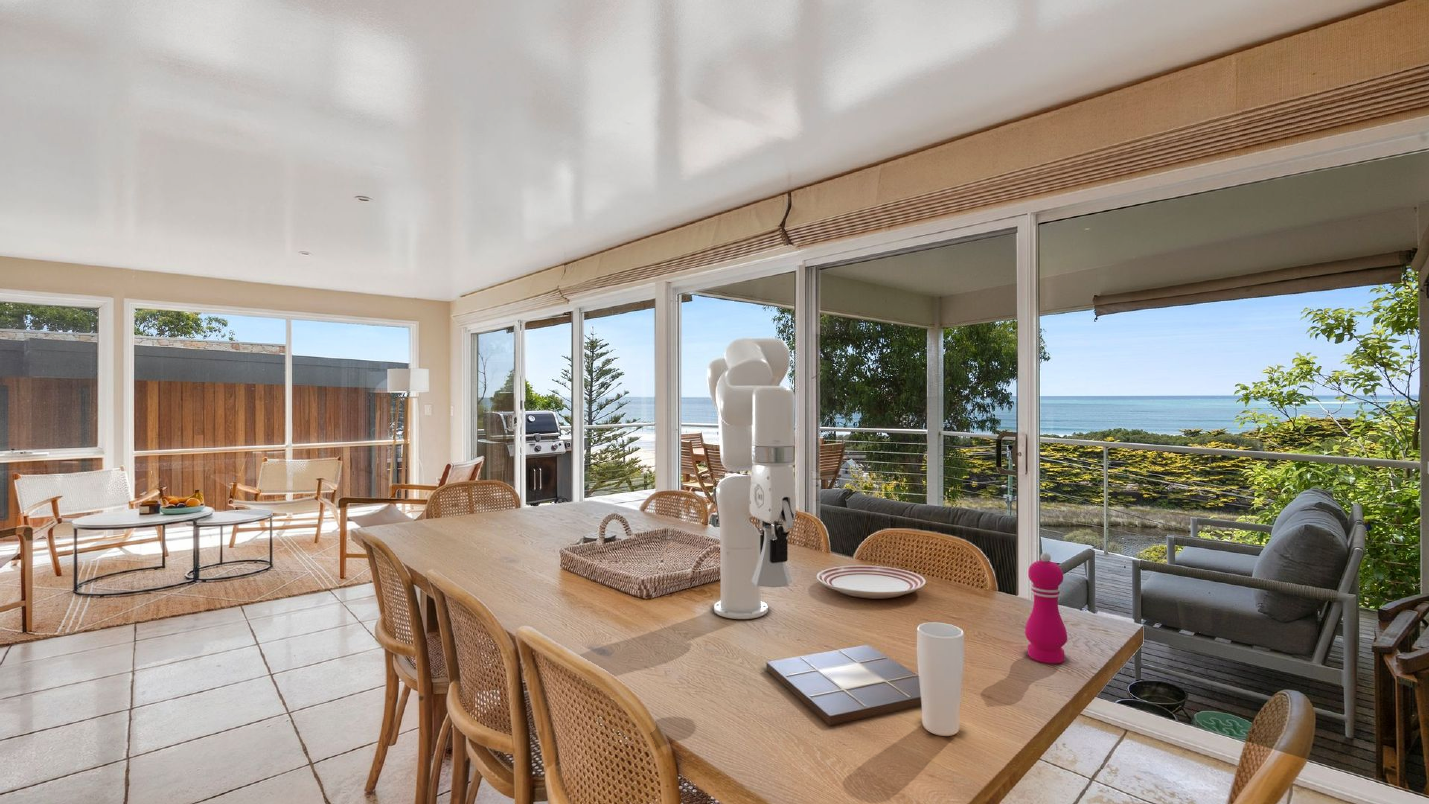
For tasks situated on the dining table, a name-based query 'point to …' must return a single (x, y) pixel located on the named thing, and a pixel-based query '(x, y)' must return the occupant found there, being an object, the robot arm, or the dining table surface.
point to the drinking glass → (940, 676)
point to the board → (848, 683)
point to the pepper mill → (1045, 613)
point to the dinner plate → (871, 581)
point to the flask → (770, 566)
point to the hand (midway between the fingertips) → (773, 558)
